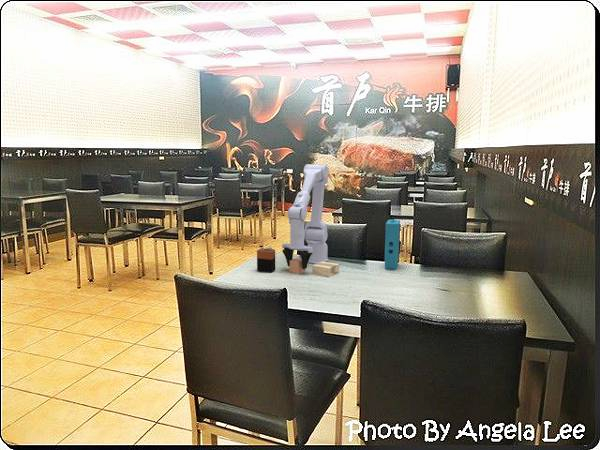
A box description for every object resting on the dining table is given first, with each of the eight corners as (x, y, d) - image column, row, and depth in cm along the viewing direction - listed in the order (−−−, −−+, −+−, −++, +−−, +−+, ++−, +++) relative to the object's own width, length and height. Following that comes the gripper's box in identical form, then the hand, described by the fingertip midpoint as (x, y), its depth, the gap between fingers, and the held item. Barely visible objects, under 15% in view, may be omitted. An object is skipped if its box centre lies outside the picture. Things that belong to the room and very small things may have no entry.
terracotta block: (296, 269, 189) (296, 258, 188) (304, 271, 186) (304, 259, 185) (289, 272, 185) (289, 260, 184) (298, 273, 182) (298, 262, 182)
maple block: (322, 270, 188) (322, 261, 188) (339, 273, 184) (339, 264, 183) (312, 274, 182) (312, 265, 181) (328, 277, 177) (328, 268, 177)
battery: (271, 273, 183) (271, 249, 182) (256, 271, 186) (256, 248, 184) (275, 270, 187) (275, 247, 186) (261, 268, 190) (261, 246, 188)
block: (387, 263, 200) (388, 219, 196) (398, 264, 198) (400, 220, 195) (383, 270, 188) (385, 223, 185) (395, 271, 187) (397, 224, 184)
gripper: (277, 234, 184) (277, 266, 186) (305, 238, 176) (305, 271, 178) (288, 232, 190) (288, 263, 192) (315, 236, 181) (315, 268, 183)
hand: (297, 267), depth 185 cm, fingers open, 7 cm apart
